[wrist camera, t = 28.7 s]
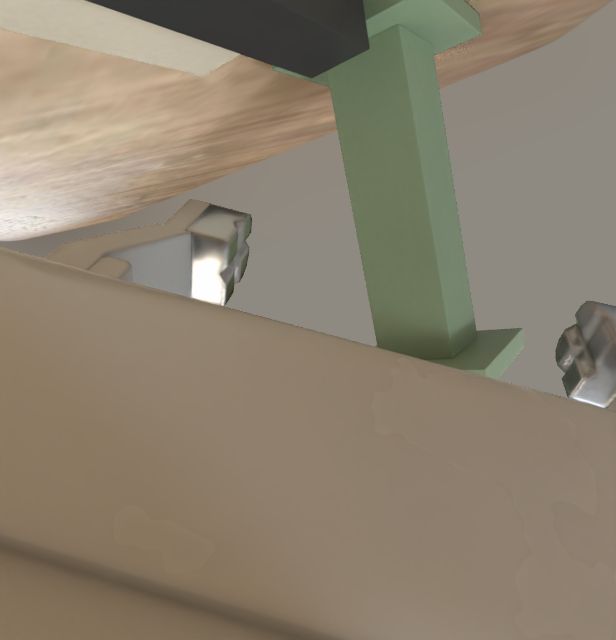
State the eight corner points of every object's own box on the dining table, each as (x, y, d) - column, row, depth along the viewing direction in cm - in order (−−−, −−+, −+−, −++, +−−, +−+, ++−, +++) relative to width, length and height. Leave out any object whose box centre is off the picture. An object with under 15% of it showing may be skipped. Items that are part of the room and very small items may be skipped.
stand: (268, 49, 34) (335, 388, 38) (422, -40, 27) (488, 391, 31) (345, 75, 43) (395, 350, 46) (479, 13, 36) (525, 345, 39)
